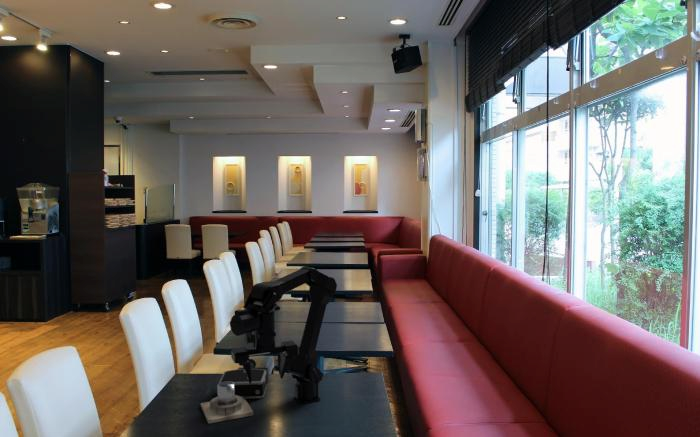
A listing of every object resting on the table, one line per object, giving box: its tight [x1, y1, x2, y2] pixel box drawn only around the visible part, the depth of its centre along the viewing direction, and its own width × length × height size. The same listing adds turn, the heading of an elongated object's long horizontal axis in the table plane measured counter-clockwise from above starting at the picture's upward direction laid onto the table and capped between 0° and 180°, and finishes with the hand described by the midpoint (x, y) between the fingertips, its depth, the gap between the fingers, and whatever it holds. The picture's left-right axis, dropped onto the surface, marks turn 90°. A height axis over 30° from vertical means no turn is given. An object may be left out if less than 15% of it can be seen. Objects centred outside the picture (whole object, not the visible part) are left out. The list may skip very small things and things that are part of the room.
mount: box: [200, 395, 255, 424], centre depth 160 cm, size 13×13×3 cm
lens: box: [216, 381, 235, 406], centre depth 160 cm, size 5×5×7 cm
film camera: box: [218, 357, 269, 400], centre depth 176 cm, size 8×16×15 cm
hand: (266, 380), depth 155 cm, fingers open, 9 cm apart
